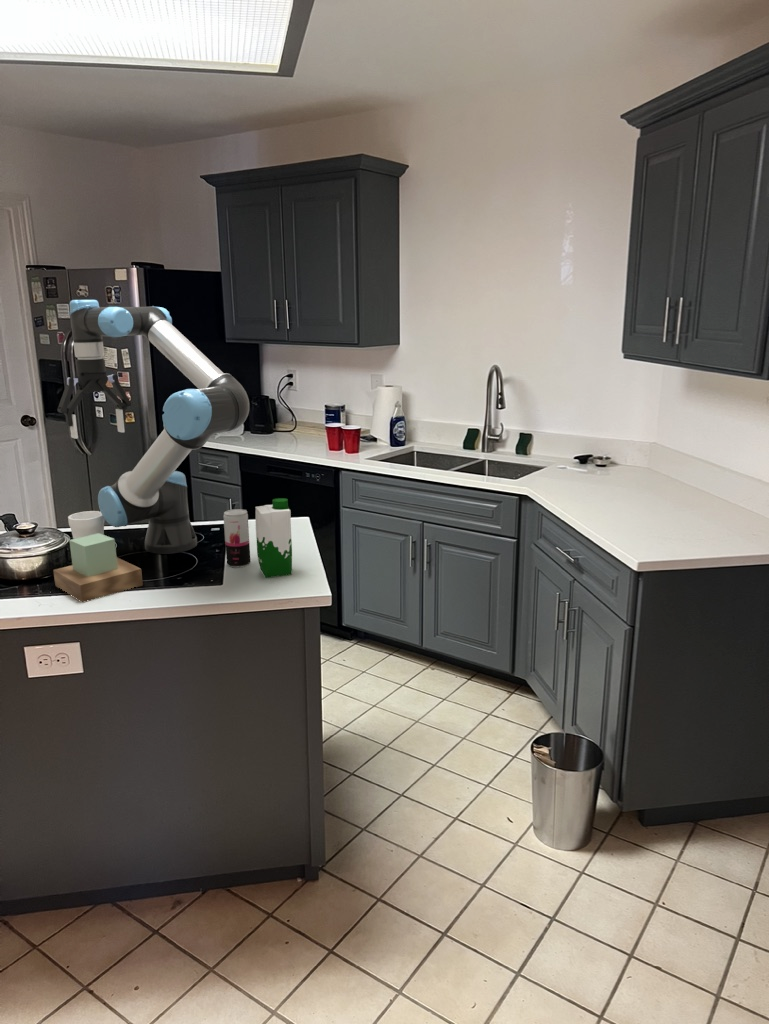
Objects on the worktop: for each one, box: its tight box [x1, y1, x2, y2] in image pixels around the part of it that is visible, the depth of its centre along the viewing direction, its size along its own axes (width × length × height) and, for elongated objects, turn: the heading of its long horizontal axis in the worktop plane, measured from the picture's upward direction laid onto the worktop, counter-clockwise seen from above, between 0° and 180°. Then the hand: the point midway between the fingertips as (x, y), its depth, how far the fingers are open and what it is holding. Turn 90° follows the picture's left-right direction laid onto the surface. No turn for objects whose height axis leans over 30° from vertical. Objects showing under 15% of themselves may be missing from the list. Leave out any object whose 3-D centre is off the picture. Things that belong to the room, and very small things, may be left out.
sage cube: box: [68, 533, 118, 577], centre depth 192 cm, size 8×8×8 cm
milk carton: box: [254, 497, 293, 579], centre depth 200 cm, size 9×9×20 cm
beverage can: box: [223, 508, 251, 568], centre depth 208 cm, size 7×7×15 cm
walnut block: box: [52, 557, 144, 603], centre depth 194 cm, size 16×16×5 cm
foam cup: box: [67, 510, 106, 539], centre depth 213 cm, size 10×9×13 cm
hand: (98, 435), depth 211 cm, fingers open, 13 cm apart
